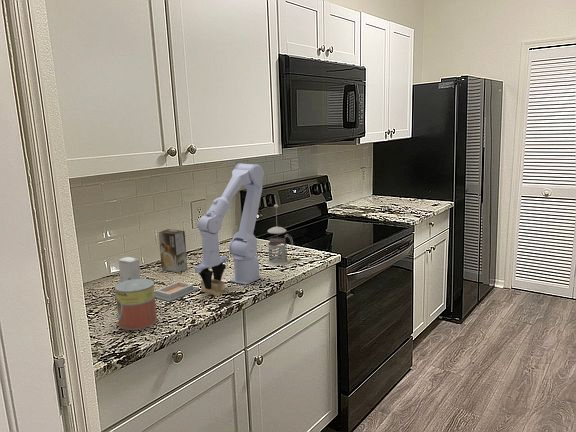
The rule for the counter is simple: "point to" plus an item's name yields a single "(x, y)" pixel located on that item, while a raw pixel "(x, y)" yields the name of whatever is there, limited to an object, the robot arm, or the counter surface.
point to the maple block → (214, 287)
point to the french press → (280, 258)
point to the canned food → (136, 303)
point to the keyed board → (174, 291)
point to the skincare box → (129, 268)
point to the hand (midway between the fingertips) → (212, 286)
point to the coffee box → (173, 250)
